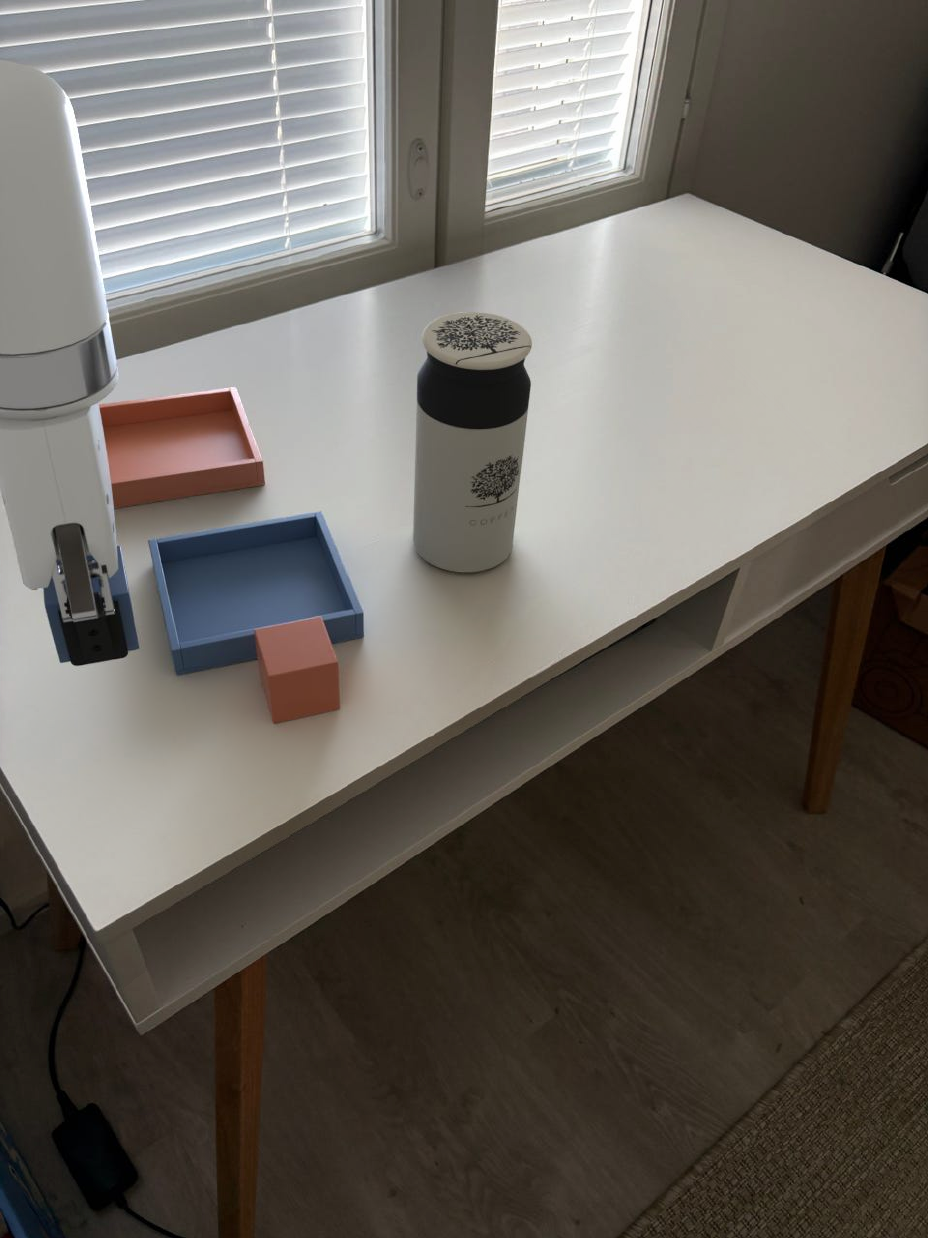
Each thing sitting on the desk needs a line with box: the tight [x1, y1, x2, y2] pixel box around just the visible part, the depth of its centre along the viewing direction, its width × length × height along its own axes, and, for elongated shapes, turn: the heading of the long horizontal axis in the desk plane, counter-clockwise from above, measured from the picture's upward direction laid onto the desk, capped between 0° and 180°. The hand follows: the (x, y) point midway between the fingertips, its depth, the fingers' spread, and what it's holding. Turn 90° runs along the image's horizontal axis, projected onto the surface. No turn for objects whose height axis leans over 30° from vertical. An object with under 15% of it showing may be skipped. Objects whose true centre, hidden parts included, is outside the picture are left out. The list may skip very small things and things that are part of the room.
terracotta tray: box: [99, 386, 266, 509], centre depth 86 cm, size 13×12×2 cm
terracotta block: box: [254, 617, 341, 724], centre depth 67 cm, size 4×4×4 cm
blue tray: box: [147, 510, 365, 676], centre depth 74 cm, size 13×12×2 cm
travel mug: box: [412, 311, 533, 573], centre depth 74 cm, size 8×8×18 cm
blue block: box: [42, 545, 140, 664], centre depth 60 cm, size 4×4×4 cm
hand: (95, 626), depth 61 cm, fingers closed on blue block, 4 cm apart
